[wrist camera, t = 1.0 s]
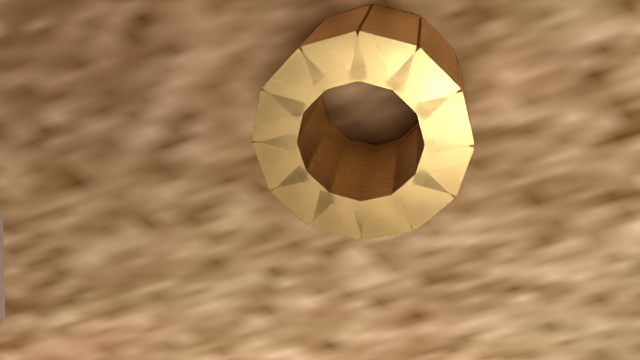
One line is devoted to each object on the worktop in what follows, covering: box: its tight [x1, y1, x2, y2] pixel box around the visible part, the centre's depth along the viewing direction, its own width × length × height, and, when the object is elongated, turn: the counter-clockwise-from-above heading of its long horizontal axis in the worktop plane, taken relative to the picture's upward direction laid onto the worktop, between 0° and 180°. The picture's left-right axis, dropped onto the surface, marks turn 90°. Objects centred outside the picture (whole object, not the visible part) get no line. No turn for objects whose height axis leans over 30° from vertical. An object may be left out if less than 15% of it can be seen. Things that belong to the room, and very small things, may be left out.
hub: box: [252, 4, 474, 241], centre depth 25 cm, size 8×8×6 cm
